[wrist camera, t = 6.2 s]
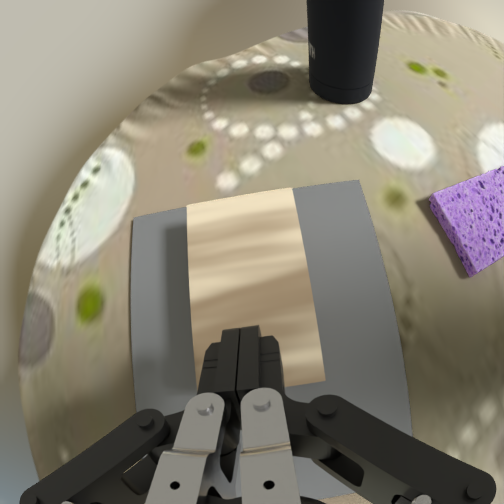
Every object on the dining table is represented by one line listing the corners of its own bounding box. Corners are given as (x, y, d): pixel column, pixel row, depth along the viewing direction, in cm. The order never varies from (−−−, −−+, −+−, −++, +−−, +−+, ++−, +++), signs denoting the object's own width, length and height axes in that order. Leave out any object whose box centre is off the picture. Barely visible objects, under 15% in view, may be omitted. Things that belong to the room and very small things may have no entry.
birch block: (325, 380, 16) (291, 187, 20) (197, 394, 16) (186, 205, 21) (321, 379, 18) (292, 208, 23) (210, 392, 19) (198, 224, 23)
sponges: (544, 229, 20) (554, 220, 18) (465, 281, 20) (476, 273, 18) (509, 169, 23) (517, 158, 21) (423, 204, 22) (431, 191, 21)
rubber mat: (412, 474, 15) (414, 476, 14) (152, 499, 16) (149, 501, 16) (358, 182, 23) (358, 179, 23) (135, 219, 25) (133, 217, 24)
